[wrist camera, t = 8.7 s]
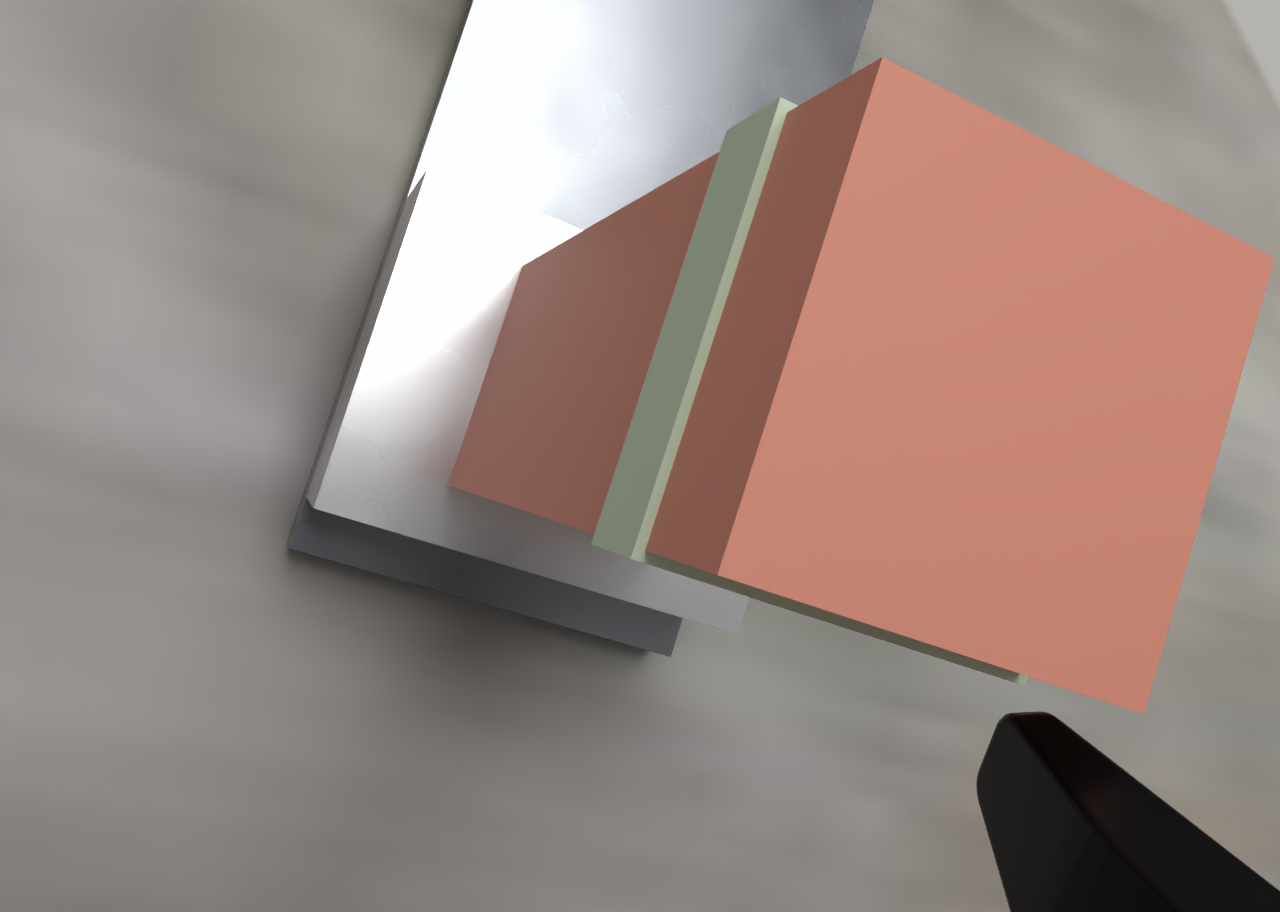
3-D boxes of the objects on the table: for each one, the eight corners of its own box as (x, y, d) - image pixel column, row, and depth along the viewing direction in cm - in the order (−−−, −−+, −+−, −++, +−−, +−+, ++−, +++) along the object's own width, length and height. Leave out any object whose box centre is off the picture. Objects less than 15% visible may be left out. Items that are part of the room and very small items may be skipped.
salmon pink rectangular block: (660, 560, 21) (1149, 729, 9) (440, 488, 20) (700, 584, 8) (730, 342, 21) (1285, 251, 10) (519, 258, 20) (875, 38, 8)
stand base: (651, 645, 25) (722, 686, 21) (287, 542, 23) (293, 566, 19) (861, -29, 26) (963, -105, 22) (536, -199, 24) (590, -316, 20)
